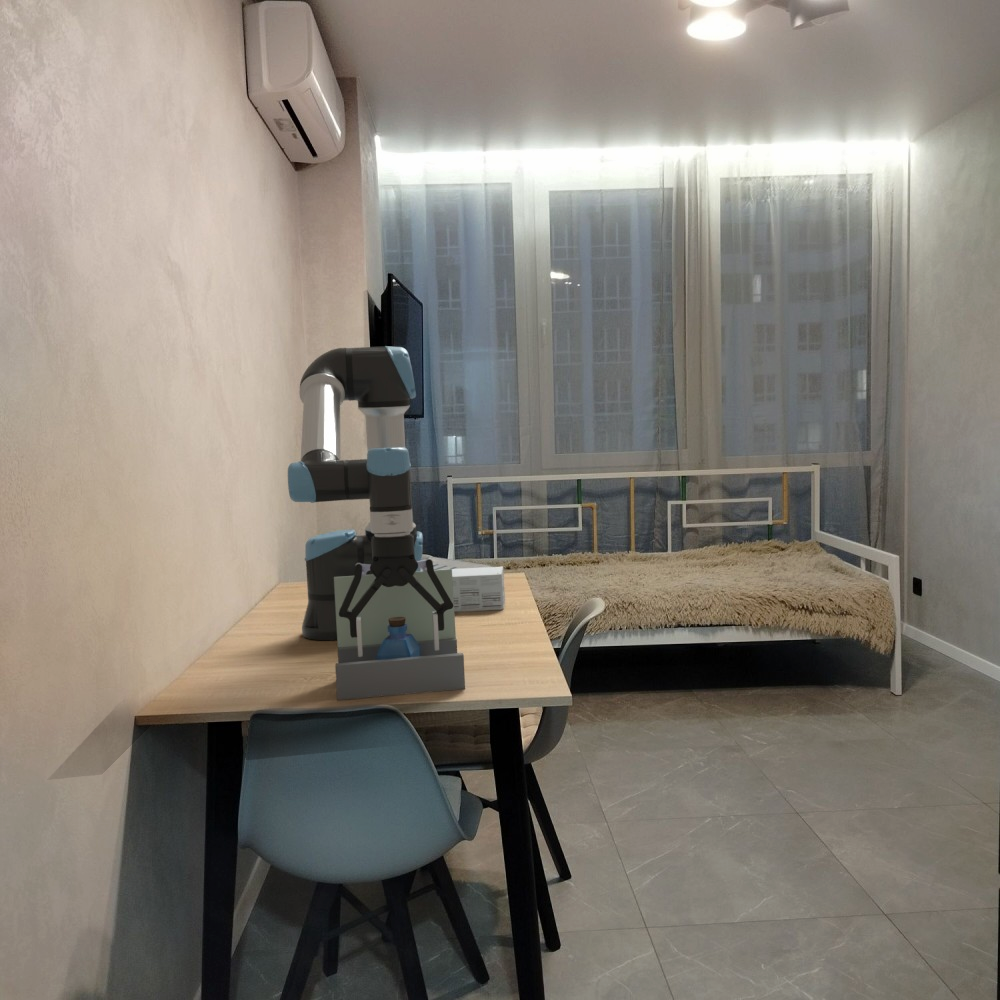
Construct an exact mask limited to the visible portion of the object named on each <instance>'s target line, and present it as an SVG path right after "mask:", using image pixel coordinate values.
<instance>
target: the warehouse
mask: <svg viewBox="0 0 1000 1000" xmlns="http://www.w3.org/2000/svg"><path fill="white" fill-rule="evenodd" d="M429 558H430V559H431V560H432V562H433V567H434V570H441V569H462V568H482V567H495V566H494V565H492V564H491V565H490V564H484V563H478V562H472V561H464V560H458V559H452V558H451V559H450V558H443V557H439V556H438V557H436V556H432V557H429ZM424 560H426V558H425V559H424ZM420 571H423V570H422V568H421V570H420Z"/></svg>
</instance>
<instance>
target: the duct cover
mask: <svg viewBox="0 0 1000 1000" xmlns="http://www.w3.org/2000/svg"><path fill="white" fill-rule="evenodd" d="M434 572H435V574H436V575H437V577H438V579H439V581H440V582H441V584H442V586H443V588H444V589H445V591H446V593H447V595H448V596H449V598H450V600H451V602H452V603H453V608H452V609H449V610H446V611H445V612H444V630H442V631H438V635H439V639H450V638H456V639H457V637H456V636H457V633H456V620H455V619H456V617H455V612H454V597H453V580H452V569H445V570H434ZM413 576H414V577H415V578H416V579H417V580H418V582H419V583H420V584H421V585H422V586H423V587H424V588H425V589H426V590H427V591H428V592H429V593H430V594H431V595H432V596H433V597H434V598H435V599H436V600H437V601H438V602H439V603H440V604H442V603H444V601H443V599H442V598H441V596H440V594H439V593H438V591H437V589H436V587H435V586H434V584H433V582H432V580H431V579H430V577H429V575H428V573H427V572H424V571H416V572H415V573H414V575H413ZM353 578H354V576H342V577H334V589H335V607H336V624H337V648H338V647H351V646H358V644H357V637H354V638H352V637H351V635H350V621H349V619H347V618H344V617H340V616H339V610H340V608H341V605H342V603H343V601H344V599H345V596H346V594H347V592H348V589H349V587H350V585H351V583H352V580H353ZM375 579H376V577H375V576H374V575H373V574H371V575H365V576H361V580H360V583H359V585H358V587H357V590H356V592H355V594H354V597H353V599H352V601H351V603H350V606H349V608H348V610H350V611H352V609H353V608H354V607H355V605H356V604H357V603H358V601H359V600H360V599H361V597H362V596H363V595H364V594H365V592H366V591H367V590H368V588H369V587H370V586H371V584H372V583H373V581H374V580H375ZM432 612H436V610H435V609H434V608H433V607H432V606H431V605H430V604H429V603H428V602H427V601H426V600H425V599H424V598H423V597H422V596H421V595H420V594H419V593H418V592H417V591H416V589H415V588H413V587H412V586H411V585H410V584H409V583H407V584H406V585H404V586H392V587H386V586H383V585H381V586H380V588H379V589H378V590H377V591H376V592H375V594H374V595H373V596H372V598H371V599H370V600H369V602H368V603H367V604H366V606H365V607H364V608H363V610H362V611H361V612H360V613H359V615H358V616H357V617H361V634H362V646H363V645H376V644H382V643H383V640H384V639H385V638H387V637H388V636H389V635H390V632H388V625H389V621H388V619H389V618H392V617H405V618H406V620H405V624H407V631H406V634H412V635H413V637H414V638H415V640H416V641H426V640H434V638H433V619H432ZM357 617H356V618H357Z"/></svg>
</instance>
